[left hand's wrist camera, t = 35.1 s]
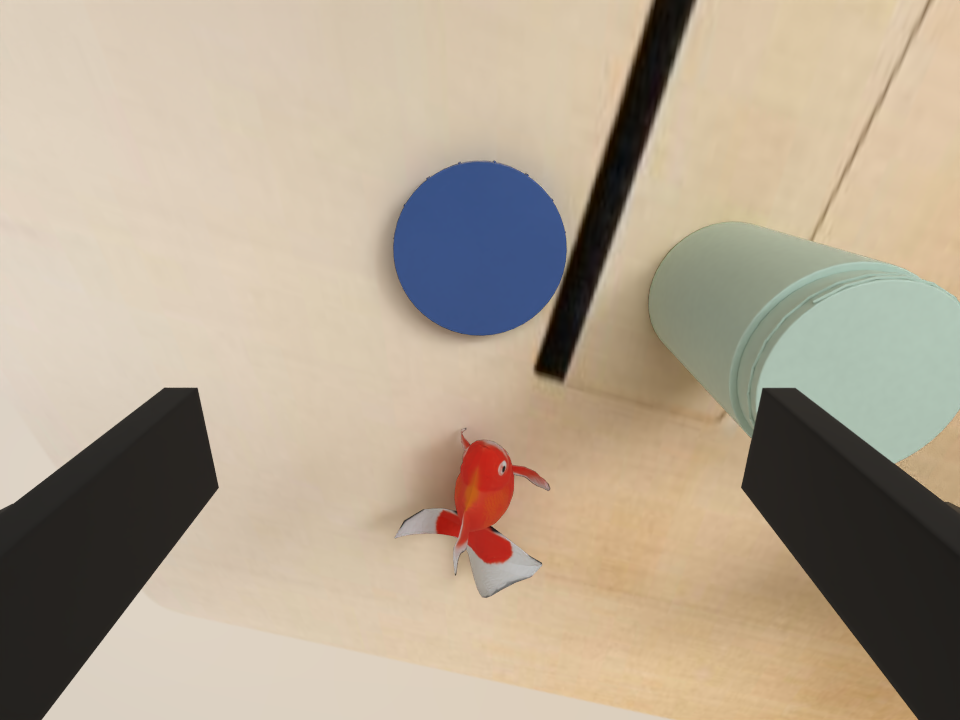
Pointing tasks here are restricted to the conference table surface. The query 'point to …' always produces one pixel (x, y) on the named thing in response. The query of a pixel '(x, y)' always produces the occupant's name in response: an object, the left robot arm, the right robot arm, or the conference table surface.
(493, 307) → the lid
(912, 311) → the jar
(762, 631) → the conference table surface
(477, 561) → the fish
